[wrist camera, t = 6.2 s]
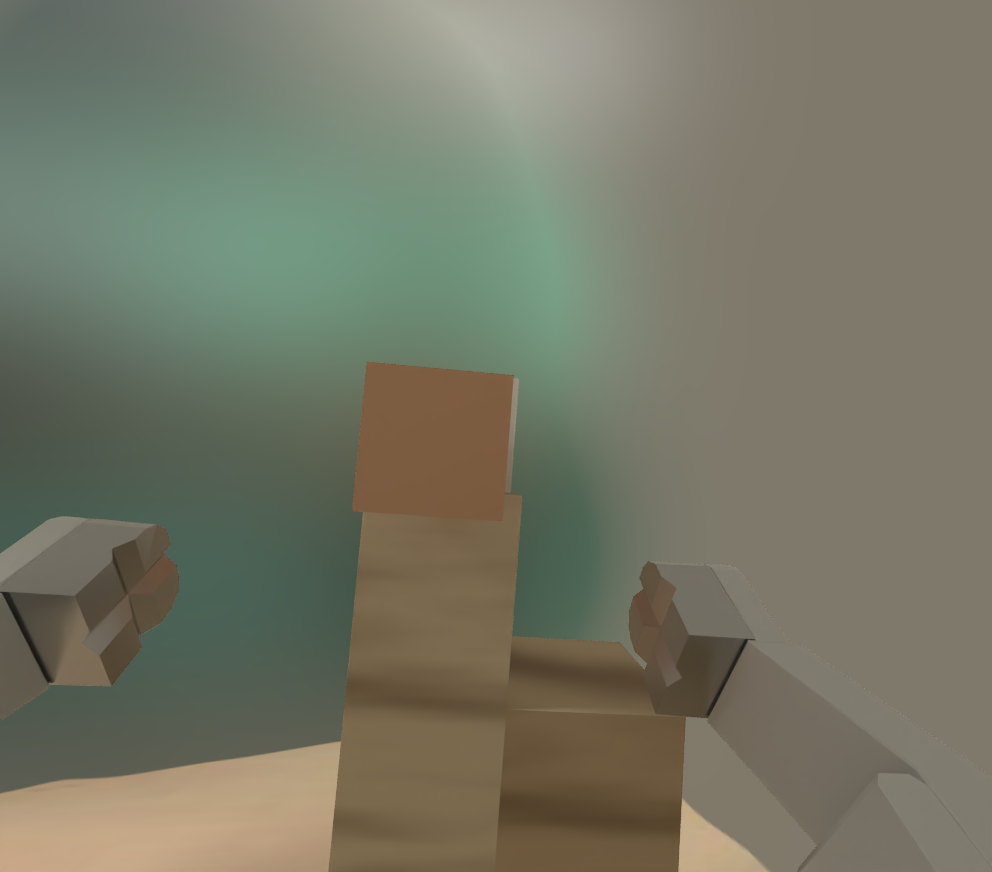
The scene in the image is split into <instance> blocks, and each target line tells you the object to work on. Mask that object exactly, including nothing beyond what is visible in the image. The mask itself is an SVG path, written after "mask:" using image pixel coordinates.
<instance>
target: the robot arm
mask: <svg viewBox="0 0 992 872" xmlns="http://www.w3.org/2000/svg"><path fill="white" fill-rule="evenodd" d="M170 546H171V543H170V540H169V537H168V534H167V530H166V529H165V528H163V527H161V526H159V525H155V524H144V523H132V522H123V521H113V520H103V519H86V518H76V517H65V516H62V517H58V518H54V519H49V520H47V521H46V522H45V523H43V524H42V525H40V526H39V527H38V528H36V529H35V530H33V531H32V532H30V533H29V534H28V535H26V536H25V537H24V538H22V539H21V540H19V541H18V542H16V543H15V544H13V545H12V546H11V547H9V548H8V549H6V550H5V551H4V552H2V553H1V554H0V720H2V719H3V718H5V717H6V716H8V715H9V714H11V713H12V712H14V711H15V710H17V709H18V708H20V707H21V706H23V705H24V704H26V703H27V702H29V701H30V700H32V699H33V698H35V697H36V696H38V695H39V694H41V693H42V692H44V691H45V690H47V689H48V688H49V685H92V686H112V685H113V683H114V682H115V681H116V680H117V678H118V677H119V676H120V674H121V673H122V672H123V671H124V669H125V668H126V667H127V666H128V664H129V663H130V662H131V660H132V659H133V658H134V657H135V655H136V654H137V653H138V652H139V650H140V649H141V648H142V637H141V634H143V633H145V632H146V631H148V630H150V629H152V628H153V627H155V626H157V625H159V624H160V623H161V622H162V621H163V620H164V618H165V617H166V615H167V614H168V613H169V611H170V610H171V609H172V607H173V604H174V601H175V599H176V596H177V593H178V591H179V573H178V569H177V565H175V564H174V563H173V562H172V561H171V560H170V559H169V558H168V557H166V555H164V554H165V553H166V551H167V550H168V548H169V547H170ZM640 580H641V583H642V586H643V588H644V589H643V590H641V591H640V592H639V593H637V594H636V595H635V596H633V599H632V603H631V606H630V610H629V631H630V638H631V641H632V644H633V648H634V651H635V653H636V654H637V655H639V656H640V657H641V658H642V659H643V660H644V661H645V662H646V663H647V665H646V668H645V671H644V673H643V678H644V681H645V684H646V687H647V690H648V693H649V696H650V699H651V702H652V705H653V708H654V711H655V714H660V715H672V716H685V717H697V718H708V720H707V722H708V723H709V724H710V725H711V726H712V727H713V729H714V730H715V731H716V732H717V733H718V734H719V735H720V737H721V738H722V739H723V740H724V741H725V742H726V743H727V744H728V746H729V747H730V748H731V749H732V750H733V751H734V752H735V753H736V755H737V756H738V757H739V758H740V759H741V760H742V761H743V762H744V764H745V765H746V766H747V767H748V768H749V769H750V770H751V772H752V773H753V774H754V775H755V776H756V777H757V778H758V779H759V780H760V782H761V783H762V784H763V785H764V786H765V787H766V788H767V790H768V791H769V792H770V793H771V794H772V795H773V796H774V797H775V799H776V800H777V801H778V802H779V803H780V804H781V805H782V806H783V808H784V809H785V810H786V811H787V812H788V813H789V814H790V816H791V817H792V818H793V819H794V820H795V821H796V822H797V823H798V825H799V826H800V827H801V828H802V829H803V830H804V831H805V832H806V834H807V835H808V836H809V837H810V838H811V839H812V840H813V842H814V843H815V844H816V845H817V846H816V848H815V849H814V850H813V851H812V852H811V853H810V855H809V856H808V857H807V858H806V859H805V861H804V862H803V863H802V864H801V865H800V866H799V868H798V871H797V872H992V778H991V776H990V775H988V774H987V773H985V772H984V771H983V770H981V769H980V768H978V767H977V766H975V765H973V764H972V763H971V762H970V761H968V760H967V759H965V758H964V757H962V756H961V755H959V754H958V753H956V752H955V751H954V750H952V749H951V748H949V747H948V746H946V745H945V744H944V743H942V742H941V741H939V740H938V739H936V738H935V737H934V736H932V735H931V734H929V733H928V732H926V731H925V730H923V729H922V728H921V727H919V726H918V725H916V724H915V723H913V722H912V721H910V720H909V719H907V718H906V717H905V716H903V715H902V714H900V713H899V712H897V711H896V710H895V709H893V708H892V707H890V706H889V705H887V704H886V703H885V702H883V701H882V700H880V699H879V698H877V697H876V696H874V695H873V694H872V693H870V692H869V691H867V690H866V689H864V688H863V687H861V686H860V685H859V684H857V683H856V682H854V681H853V680H851V679H850V678H849V677H847V676H846V675H844V674H843V673H841V672H840V671H838V670H837V669H836V668H834V667H833V666H831V665H830V664H828V663H827V662H825V661H824V660H823V659H821V658H820V657H818V656H817V655H815V654H814V653H813V652H811V651H810V650H808V649H807V648H805V647H804V646H802V645H801V644H797V643H790V642H789V640H788V639H787V637H786V636H785V635H784V633H783V632H782V630H781V629H780V627H779V626H778V625H777V623H776V622H775V620H774V619H773V617H772V616H771V614H770V613H769V612H768V610H767V609H766V607H765V606H764V605H763V603H762V602H761V600H760V599H759V597H758V596H757V595H756V593H755V592H754V591H753V589H752V587H751V586H750V585H749V583H748V582H747V580H746V579H745V577H744V576H743V574H742V573H741V572H740V571H739V570H738V569H737V568H735V567H734V566H729V565H711V564H704V565H700V564H685V563H671V562H656V561H648V562H647V563H646V564H645V565H644V567H643V569H642V572H641V575H640Z"/></svg>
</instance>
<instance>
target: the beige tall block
mask: <svg viewBox="0 0 992 872" xmlns="http://www.w3.org/2000/svg"><path fill="white" fill-rule="evenodd" d="M521 505H522V497H521V496H519V495H518V494H516V493H514V492H512V491H511V492H510V493H505V497H504V510H503V521H489V520H475V519H460V518H446V517H432V516H418V515H403V514H389V513H375V512H363V520H362V530H361V540H360V551H359V561H358V572H357V582H356V592H355V603H354V613H353V623H352V634H351V644H350V655H349V665H348V676H347V686H346V696H345V707H344V717H343V727H342V738H341V748H340V759H339V769H338V779H337V790H336V800H335V810H334V821H333V831H332V842H331V852H330V862H329V872H678V865H679V845H680V824H681V804H682V783H683V763H684V762H683V761H684V741H685V721H686V717H685V716H672V715H660V714H655V711H654V708H653V705H652V702H651V699H650V696H649V693H648V690H647V687H646V684H645V681H644V678H643V673H644V671H645V670H644V669H643V668H642V667H641V666H640V665H639V663H638V662H637V661H636V660H635V659H634V658H633V657H632V656H631V654H630V653H629V652H628V651H627V650H626V649H625V648H624V646H623V645H622V644H621V643H620V642H604V641H585V640H567V639H549V638H530V637H512V627H513V612H514V600H515V586H516V573H517V559H518V546H519V532H520V518H521Z"/></svg>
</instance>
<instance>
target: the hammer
mask: <svg viewBox="0 0 992 872" xmlns="http://www.w3.org/2000/svg"><path fill="white" fill-rule="evenodd" d="M518 386H519V379H514V375H505V374H494V373H484V372H473V371H461V370H450V369H439V368H429V367H418V366H407V365H396V364H385V363H374V362H367V365H366V374H365V385H364V395H363V405H362V415H361V425H360V436H359V445H358V456H357V466H356V476H355V486H354V496H353V507H352V511H361V512H375V513H389V514H403V515H418V516H432V517H446V518H460V519H475V520H489V521H503V510H504V497H505V493H510V492H511V479H512V478H511V477H512V466H513V451H514V439H515V426H516V413H517V399H518Z"/></svg>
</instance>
